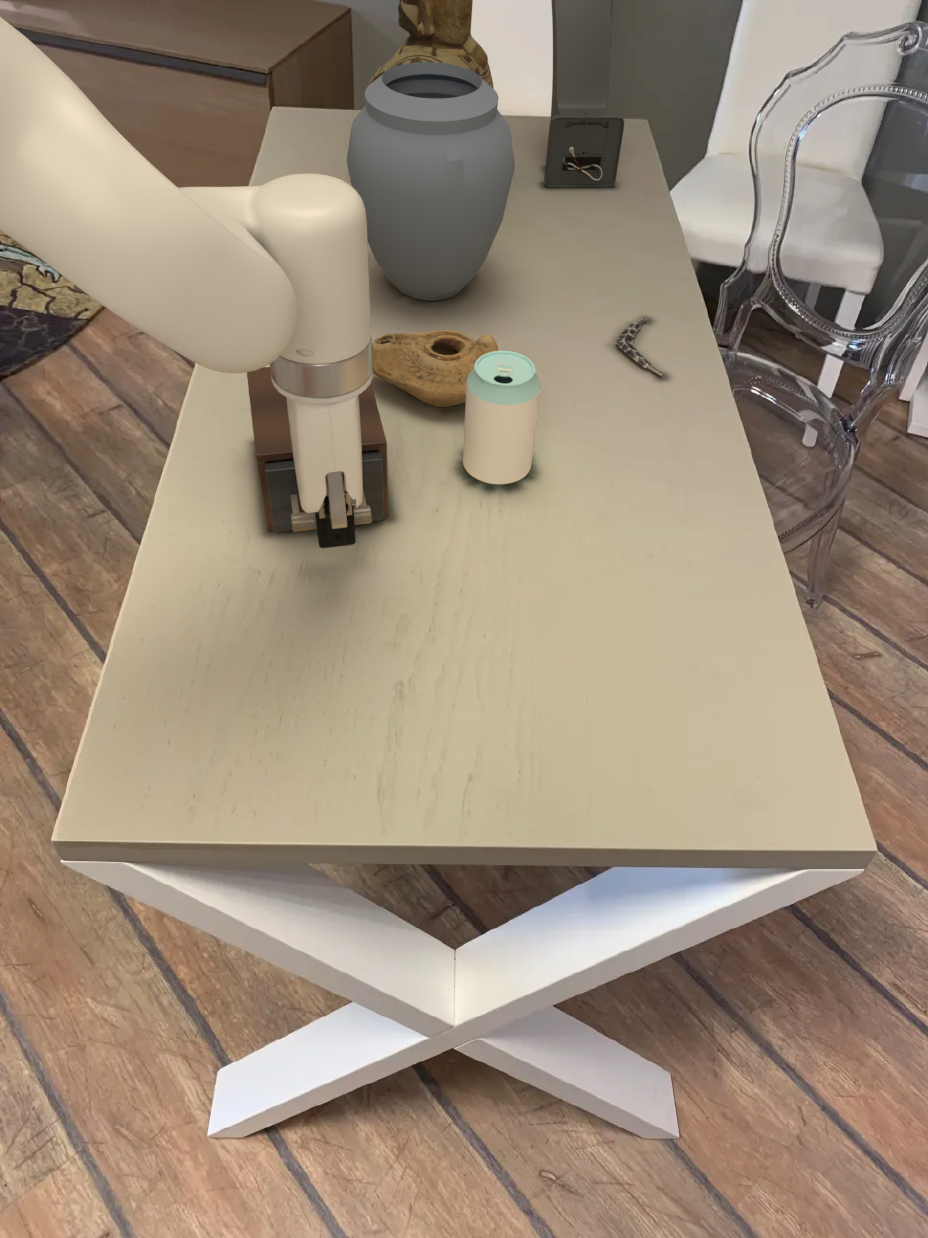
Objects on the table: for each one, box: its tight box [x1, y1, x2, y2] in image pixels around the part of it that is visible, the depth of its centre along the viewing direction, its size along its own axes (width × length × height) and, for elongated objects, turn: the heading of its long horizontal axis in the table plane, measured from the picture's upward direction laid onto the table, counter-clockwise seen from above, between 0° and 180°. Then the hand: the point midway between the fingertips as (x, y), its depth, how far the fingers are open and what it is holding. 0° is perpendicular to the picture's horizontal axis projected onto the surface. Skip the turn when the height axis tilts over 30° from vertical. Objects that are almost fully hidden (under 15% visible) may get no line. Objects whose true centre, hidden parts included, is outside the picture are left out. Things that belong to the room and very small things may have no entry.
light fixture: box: [543, 0, 625, 188], centre depth 139 cm, size 11×17×24 cm, turn 6°
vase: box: [346, 62, 515, 302], centre depth 112 cm, size 20×20×24 cm
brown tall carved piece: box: [368, 0, 495, 90], centre depth 131 cm, size 19×21×30 cm
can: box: [462, 350, 542, 485], centre depth 93 cm, size 7×7×12 cm
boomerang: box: [614, 316, 664, 377], centre depth 113 cm, size 13×1×5 cm
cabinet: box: [246, 366, 390, 532], centre depth 91 cm, size 14×12×9 cm
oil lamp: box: [372, 329, 499, 408], centre depth 103 cm, size 11×15×8 cm
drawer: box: [264, 451, 385, 533], centre depth 89 cm, size 17×10×7 cm, turn 12°
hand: (336, 540), depth 83 cm, fingers closed
